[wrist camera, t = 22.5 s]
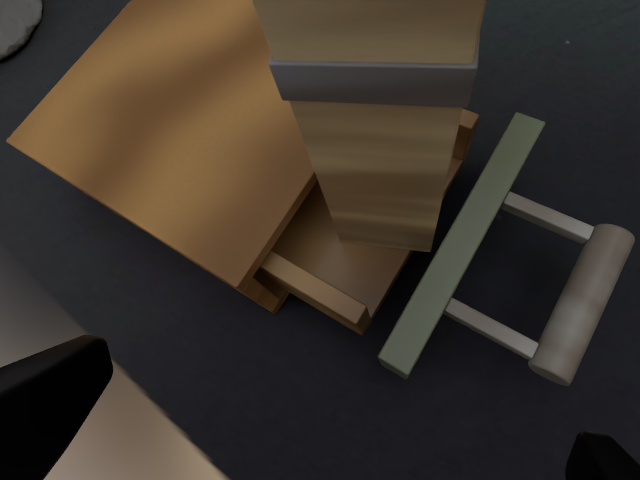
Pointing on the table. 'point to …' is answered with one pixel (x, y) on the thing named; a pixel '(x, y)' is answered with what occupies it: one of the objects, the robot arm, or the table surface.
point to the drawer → (452, 265)
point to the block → (377, 104)
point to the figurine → (17, 23)
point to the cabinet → (181, 135)
